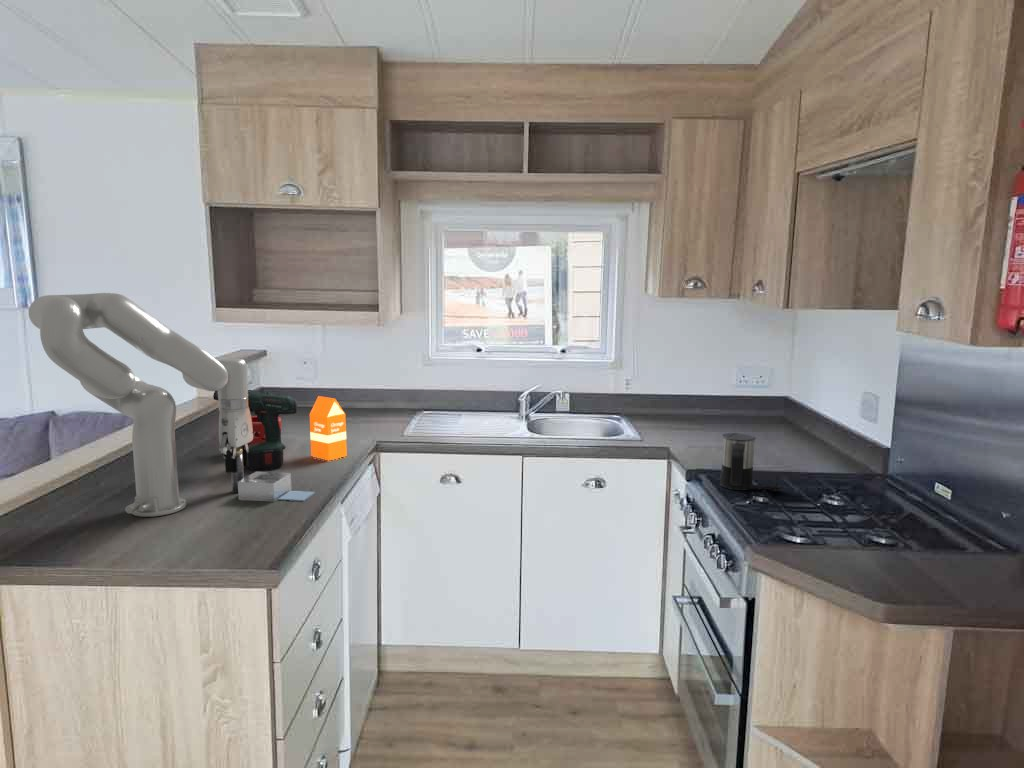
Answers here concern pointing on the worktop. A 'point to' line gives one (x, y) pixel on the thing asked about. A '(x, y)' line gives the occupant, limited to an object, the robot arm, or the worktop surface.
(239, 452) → the metal cylinder with cap
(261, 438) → the plant pot
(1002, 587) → the worktop surface
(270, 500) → the block
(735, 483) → the milk frother
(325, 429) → the orange juice
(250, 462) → the power drill
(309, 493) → the rubber mat
